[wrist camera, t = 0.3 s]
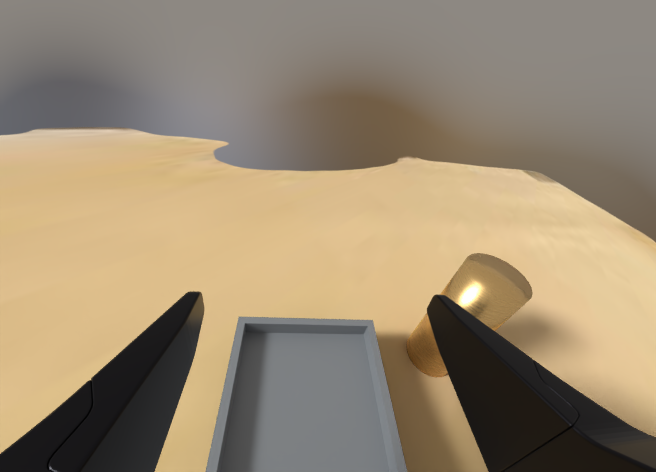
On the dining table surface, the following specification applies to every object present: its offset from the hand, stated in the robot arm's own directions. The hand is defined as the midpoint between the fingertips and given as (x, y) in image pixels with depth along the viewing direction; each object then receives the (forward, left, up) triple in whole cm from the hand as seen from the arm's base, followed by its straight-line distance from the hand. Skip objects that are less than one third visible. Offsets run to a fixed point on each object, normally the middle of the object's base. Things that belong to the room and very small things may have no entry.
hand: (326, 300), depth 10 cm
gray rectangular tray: (0, -1, -17) cm, 17 cm away
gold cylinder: (+4, -15, -17) cm, 23 cm away
